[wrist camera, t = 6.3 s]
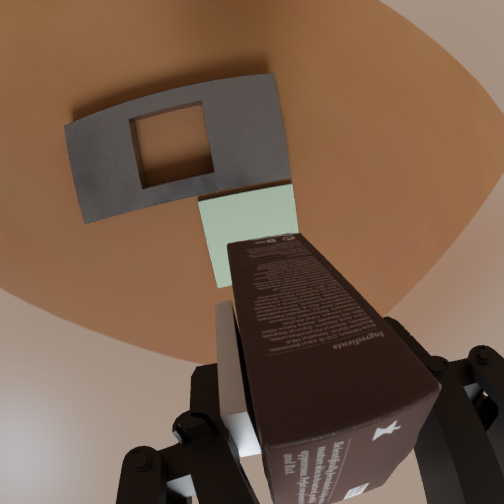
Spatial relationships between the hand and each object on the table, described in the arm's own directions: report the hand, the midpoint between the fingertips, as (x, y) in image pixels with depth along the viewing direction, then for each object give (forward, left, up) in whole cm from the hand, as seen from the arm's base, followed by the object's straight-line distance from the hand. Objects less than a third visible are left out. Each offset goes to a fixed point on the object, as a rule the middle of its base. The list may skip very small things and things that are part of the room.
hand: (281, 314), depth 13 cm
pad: (+1, -3, -21) cm, 21 cm away
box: (0, 0, -3) cm, 3 cm away
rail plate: (-6, +10, -21) cm, 24 cm away
